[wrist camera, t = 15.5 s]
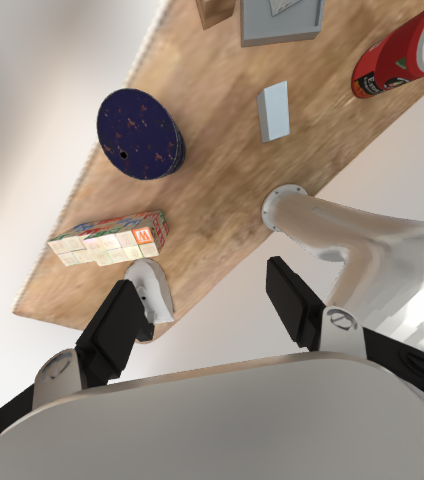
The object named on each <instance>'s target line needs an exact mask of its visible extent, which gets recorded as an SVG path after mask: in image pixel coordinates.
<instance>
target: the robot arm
mask: <svg viewBox="0 0 424 480" xmlns="http://www.w3.org/2000/svg"><path fill="white" fill-rule="evenodd" d="M275 192H276V193H275ZM264 211H265V212H264ZM261 218H262V221H263V223H264V224H265V225H266V226H267V227H268V228H269V229H271V230H273V231H277V232H284V233H285V234H286V235H287V236H289V237H290V238H291V239H293V240H294V241H295V242H296V243H298V244H299V245H300V246H301V247H303V248H304V249H305V250H306V251H308V252H309V253H310V254H312V255H313V256H314V257H316V258H319V259H321V260H324V261H332V262H342V261H345V263H344V266H343V268H342V269H341V271H340V273H339V275H338V277H337V278H336V280H335V282H334V283H333V285H332V286H331V288H330V289H329V291H328V293H327V294H326V296H325V297H324V299H323V301H321V300H320V299H319V297H318V296H317V295H316V294H315V293H314V292H313V291H312V290H311V289H310V287H309V286H308V285H307V284H306V283H305V282H304V281H303V280H302V279H301V278H300V276H299V275H298V274H296V273H294V272H293V271H292V270H291V269H290V267H289V266H288V265H287V264H286V263H285V262H284V261H283V260H282V258H281V257H280V256H275V257H270V259H269V260H267V276H266V292H267V294H268V296H269V298H270V300H271V302H272V304H273V305H274V307H275V309H276V311H277V313H278V315H279V316H280V318H281V320H282V322H283V324H284V326H285V328H286V330H287V331H288V333H289V335H290V337H291V339H292V340H293V341H294V342H296V343H297V344H298V346H299V348H302V347H307V348H308V350H309V351H310V352H303V353H296V354H288V355H281V356H275V357H268V358H261V359H255V360H249V361H243V362H237V363H231V364H225V365H219V366H213V367H207V368H201V369H195V370H189V371H183V372H177V373H172V374H165V375H160V376H154V377H148V378H142V379H137V380H131V381H126V382H120V383H114V384H109V385H107V383H108V380H111V379H117V378H119V377H120V375H121V372H122V370H124V369H125V367H126V364H127V361H128V359H129V356H130V353H131V350H132V347H133V344H134V342H135V339H136V336H137V333H138V330H139V327H140V324H141V322H142V319H143V316H144V313H145V307H144V305H143V303H142V301H141V299H140V297H139V295H138V293H137V290H136V288H135V286H134V284H133V282H132V281H130V280H129V279H124V280H119V281H117V283H116V284H115V286H114V287H113V289H112V290H111V292H110V293H109V295H108V296H107V298H106V299H105V300H104V302H103V303H102V305H101V306H100V308H99V309H98V311H97V312H96V314H95V315H94V317H93V318H92V320H91V321H90V323H89V324H88V326H87V327H86V329H85V330H84V331H83V333H82V335H81V336H80V337H79V339H78V340H77V342H76V347H75V348H74V349H66V350H63V351H61V352H59V353H57V354H56V355H54V356H53V357H52V358H50V359H49V360H48V361H47V362H46V363H45V364H44V365H43V366H42V368H41V369H40V370H39V372H38V374H37V375H36V378H35V383H34V384H32V385H31V386H30V387H28V388H27V389H25V390H24V391H23V392H22V393H20V394H19V395H18V396H16V397H15V398H13V399H12V400H11V401H10V402H8V403H7V404H5V405H4V406H3V407H1V408H0V480H424V222H423V221H416V220H408V219H402V218H395V217H389V216H384V215H378V214H374V213H369V212H365V211H361V210H357V209H354V208H350V207H347V206H343V205H339V204H336V203H332V202H329V201H325V200H322V199H318V198H315V197H312V196H308V194H307V192H306V191H305V190H304V189H303V188H302V187H300V186H298V185H295V184H285V185H281V186H279V187H277V188H275V189H274V190H272V191H271V192H270V193H269V194H268V195H267V197H266V198H265V200H264V202H263V204H262V208H261Z"/></svg>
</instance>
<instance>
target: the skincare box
mask: <svg viewBox="0 0 424 480" xmlns="http://www.w3.org/2000/svg"><path fill="white" fill-rule="evenodd" d="M298 1H300V0H270V3H271V10H272V16H274V15H276V14H278V13H279V12H281V11H283V10H284V9H286V8H288V7H289V6H291V5H293V4H295V3H296V2H298Z"/></svg>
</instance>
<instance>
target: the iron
mask: <svg viewBox="0 0 424 480" xmlns="http://www.w3.org/2000/svg"><path fill="white" fill-rule="evenodd" d="M124 279H129V280H130V281H132V282H133V284H134V286H135V288H136V290H137V293H138V295H139V297H140V299H141V301H142V303H143V305H144V307H145V313H144V316H143V319H142V322H141V324H140V327H139V330H138V333H137V336H136V339H138V340H139V341H140V342H143V341H150V340H152V339H153V338H154V328H155V326H154V324H157V323H164V322H171V321H174V315H173V305H172V299H171V295H170V291H169V288H168V285H167V282H166V278H165V273H164V272H163V270H162V269H161V267H160V266H159V265H158V264H157V263H156V262H154V261H153V260H151V259H147V258H142V259H137V260H136V261H134V263H133V265H132V266H130V267H129V268H128V270H127V271H126V273H125V277H124Z"/></svg>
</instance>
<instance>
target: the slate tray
mask: <svg viewBox="0 0 424 480" xmlns="http://www.w3.org/2000/svg"><path fill="white" fill-rule="evenodd" d="M324 4H325V0H300V1H298V2H296V3H295V4H293V5H291V6H289V7H288V8H286V9H284V10H283V11H281V12H279V13H278V14H276V15H274V16H272V10H271V3H270V0H240V5H241V47H249V46H258V45H266V44H275V43H283V42H291V41H300V40H308V39H314V38H315V37H316V36H317V35H318V33H319V32H320V31H321V26H322V19H323V12H324Z"/></svg>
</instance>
